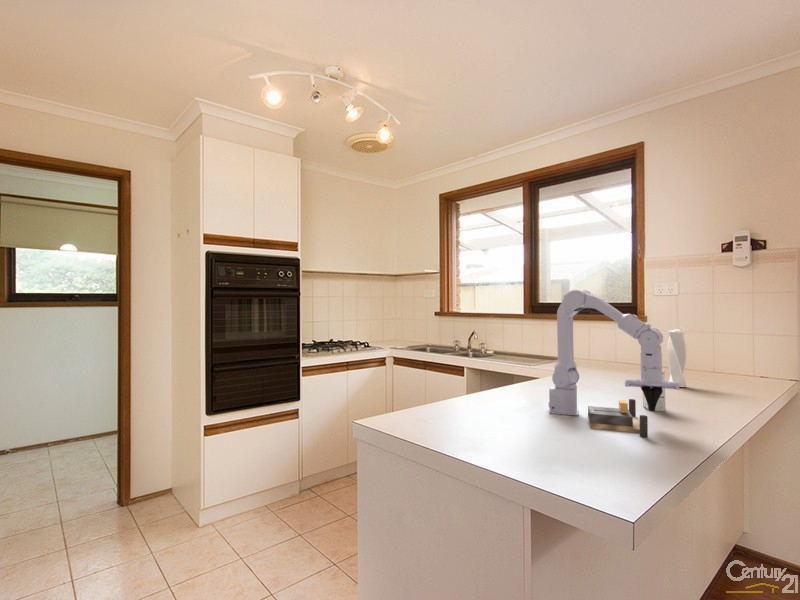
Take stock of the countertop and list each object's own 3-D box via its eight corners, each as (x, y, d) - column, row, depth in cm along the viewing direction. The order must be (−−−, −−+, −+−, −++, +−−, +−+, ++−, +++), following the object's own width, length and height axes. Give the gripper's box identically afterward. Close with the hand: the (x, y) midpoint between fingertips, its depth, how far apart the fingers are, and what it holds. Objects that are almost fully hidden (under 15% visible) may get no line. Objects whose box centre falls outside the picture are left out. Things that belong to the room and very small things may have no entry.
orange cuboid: (620, 412, 131) (620, 403, 131) (618, 409, 135) (618, 400, 135) (627, 413, 130) (627, 403, 131) (625, 409, 135) (625, 400, 135)
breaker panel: (590, 428, 130) (590, 415, 130) (587, 415, 144) (587, 404, 144) (645, 433, 124) (645, 419, 124) (637, 420, 138) (637, 407, 138)
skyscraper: (691, 388, 188) (690, 326, 188) (674, 388, 188) (674, 326, 188) (679, 384, 196) (679, 325, 196) (663, 385, 196) (663, 325, 196)
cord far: (629, 417, 141) (629, 400, 141) (628, 416, 143) (628, 398, 143) (636, 418, 140) (635, 400, 140) (635, 416, 142) (635, 399, 142)
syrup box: (666, 411, 149) (665, 371, 149) (648, 410, 150) (647, 370, 150) (659, 407, 154) (659, 368, 155) (642, 406, 156) (641, 368, 156)
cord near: (640, 437, 121) (640, 416, 121) (639, 435, 122) (639, 414, 123) (648, 438, 120) (648, 417, 120) (647, 436, 122) (646, 415, 122)
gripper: (626, 368, 129) (627, 411, 129) (681, 370, 124) (682, 416, 124) (623, 364, 136) (624, 406, 136) (675, 367, 130) (676, 410, 130)
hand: (651, 410), depth 130 cm, fingers closed
